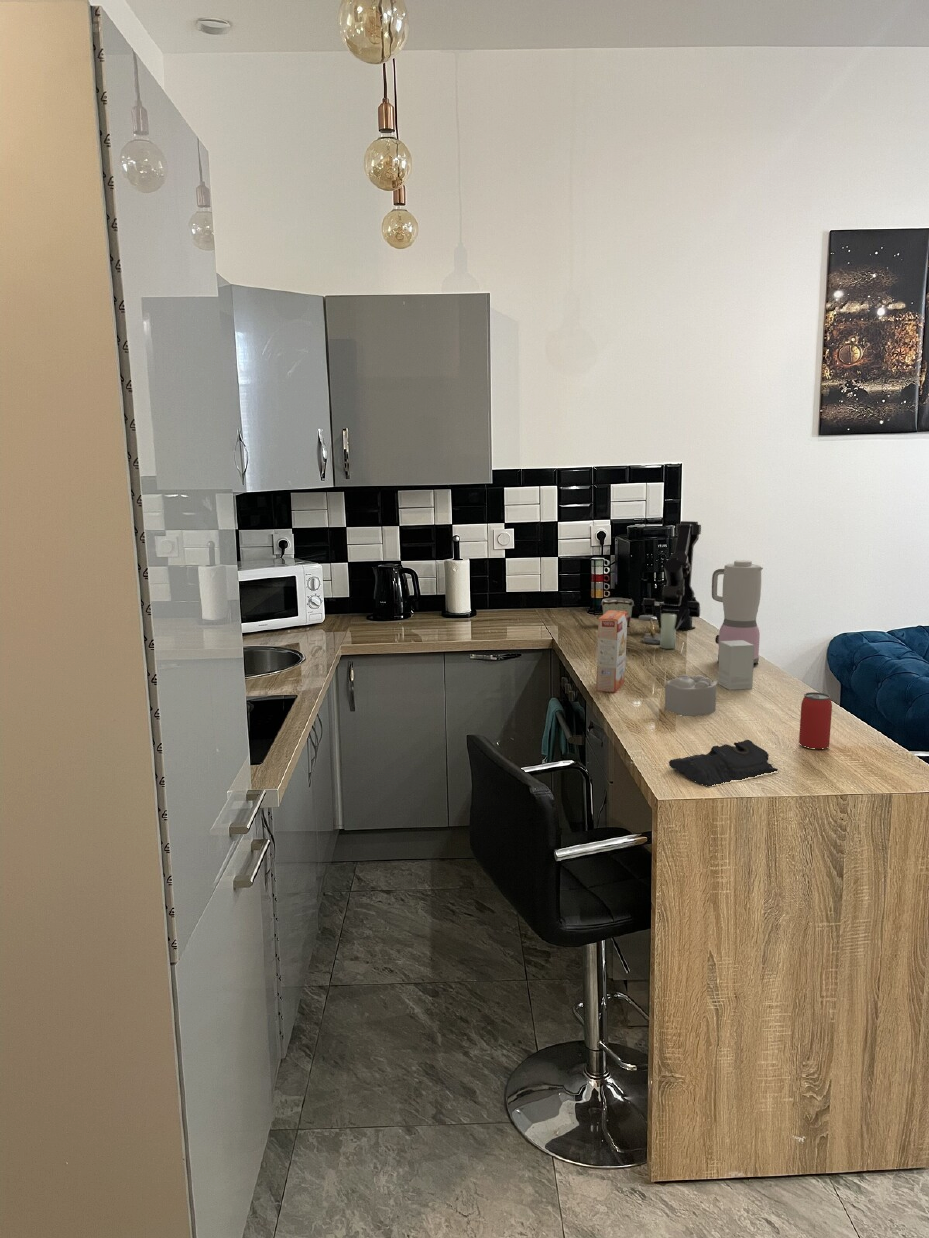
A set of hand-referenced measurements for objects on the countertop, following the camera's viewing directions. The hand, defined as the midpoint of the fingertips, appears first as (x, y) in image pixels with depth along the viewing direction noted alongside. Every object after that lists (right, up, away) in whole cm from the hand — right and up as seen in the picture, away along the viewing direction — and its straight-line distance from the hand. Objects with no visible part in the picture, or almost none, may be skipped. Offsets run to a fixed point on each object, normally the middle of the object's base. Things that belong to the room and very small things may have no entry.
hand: (667, 628), depth 315 cm
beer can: (+12, -26, -98) cm, 102 cm away
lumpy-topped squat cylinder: (-8, -21, -69) cm, 73 cm away
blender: (+17, -11, -18) cm, 27 cm away
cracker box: (-26, -16, -46) cm, 55 cm away
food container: (-10, +1, +41) cm, 42 cm away
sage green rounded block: (+1, -6, +3) cm, 7 cm away
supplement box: (+9, -16, -46) cm, 50 cm away
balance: (-1, -3, +19) cm, 19 cm away
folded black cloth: (-13, -29, -113) cm, 117 cm away
